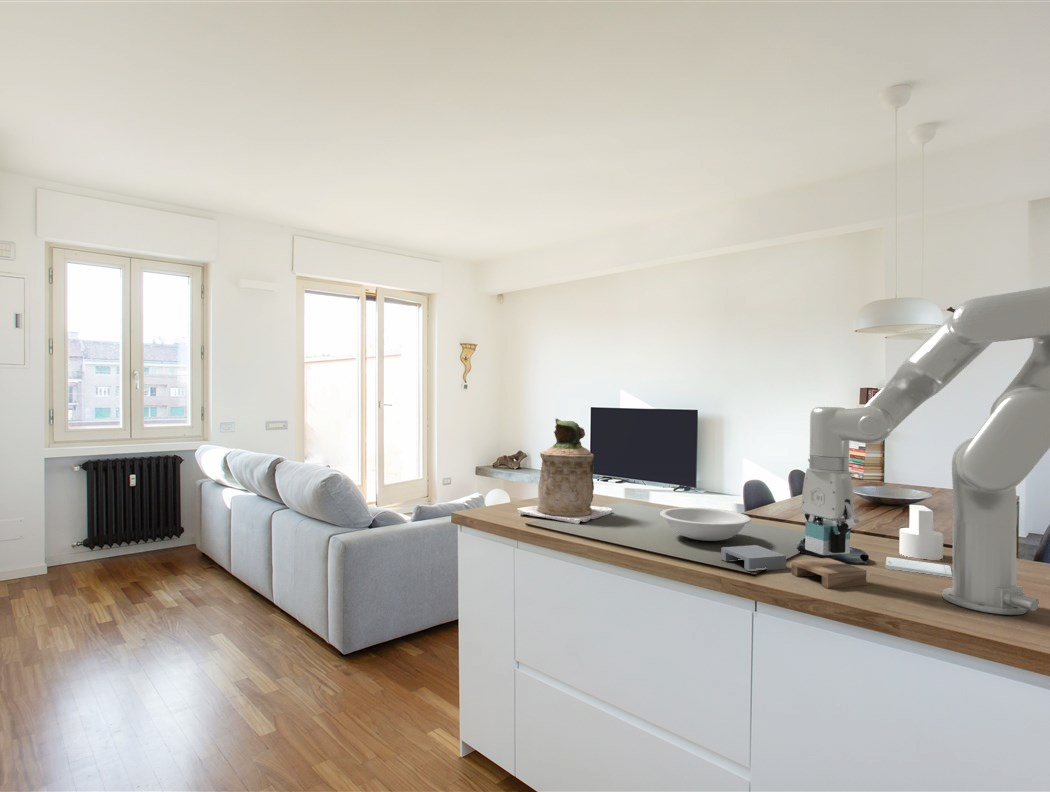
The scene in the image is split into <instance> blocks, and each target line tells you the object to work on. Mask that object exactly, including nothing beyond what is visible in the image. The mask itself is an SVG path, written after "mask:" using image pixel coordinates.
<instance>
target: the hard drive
mask: <svg viewBox="0 0 1050 792" xmlns="http://www.w3.org/2000/svg"><path fill="white" fill-rule="evenodd" d="M885 559H886V560H885V569H887V570H892V569H894V570H893V571H898V570H902V571H901V572H905V571H910V572H909V573H912V572H919V573H926V574H933V575H940V576H947V577H952V578H953V570H952V569H951V566H950V565H948V564H947V565H946V564H941V563H935V562H934V563H932V562H926V561H921V560H919V561H918V560H910V559H906V558H905V559H903V558H899V557H898V558H897V557H891V556H886V558H885ZM919 573H918V574H919ZM926 574H925V575H926ZM933 575H932V576H933ZM940 576H939V577H940ZM947 577H946V578H947Z"/></svg>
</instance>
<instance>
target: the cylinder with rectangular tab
mask: <svg viewBox="0 0 1050 792" xmlns="http://www.w3.org/2000/svg"><path fill="white" fill-rule="evenodd" d="M908 521H909V527H903V528H899V546H898V547H899V550H898V551H899V555H901V554H902V555H901V556H903V555H904V556H903V557H906V556H908V557H907V558H909V557H914V558H922V559H941V558H943V559H944V534H943V533H942V532H940V531H935V530H934V511H933V510H932V509H930V508H929V507H926V506H925V505H923V504H922V505H920V504H909V520H908ZM914 558H913V559H914Z"/></svg>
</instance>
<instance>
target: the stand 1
mask: <svg viewBox="0 0 1050 792" xmlns="http://www.w3.org/2000/svg"><path fill="white" fill-rule="evenodd" d="M720 550H721V551H720V552H721V554H720V557H721V558H720V560H721V559H723V560H725V561H729V560H738V559H743V561H744V567H743V568H747V569H756V568H765V567H766V568H768V569H767V570H766V571H774V570H775V571H776V570H777V571H778V570H786V569H787V555H786V554H783V553H780V552H777V551H774V550H771V549H770V548H769V549H768V548H766V547H763V546H760V545H757V544H752V545H751V544H750V545H737V546H723V547H721V549H720ZM725 561H724V562H725Z"/></svg>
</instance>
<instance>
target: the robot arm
mask: <svg viewBox="0 0 1050 792" xmlns="http://www.w3.org/2000/svg"><path fill="white" fill-rule="evenodd" d="M1023 339H1024V340H1025V339H1032V342H1033V348H1032V351H1031V354H1030V356H1029V357H1028V358H1027V360H1026V361H1025V363H1024V364H1023V366H1022V367H1021V369H1020V370H1019V372H1018V373H1017V375H1016V376H1015V377H1014V378H1013V379H1012V381H1011V382H1009V384H1008V386H1007V387H1006V388H1005V389H1004V391H1003V392H1002V393H1001V394H1000V395H999V396H998V397H997V398H996V400H995V401H994V402H993V403H992V405H991V408H990V415H989V417H988V418H987V419H986V421H985V422H984V423H983V425H982V426H981V427H980V428H979V430H978V431H977V433H976V434H975V435H974V437H972V438H969V439H966V440H964V441H963V442H961V443H960V444H959V445H958V446H957V447H956V448H955V450H954V452H953V455H952V459H951V477H952V478H951V479H952V480H951V481H952V578H951V579H952V581H951V582H952V587H947V588H944V589H943V590H942V597H943V599H944V600H946V601H948V602H950V603H951V604H954V605H957V606H959V607H962V608H965V609H969V610H973V611H978V612H983V613H989V614H996V615H1006V616H1016V615H1023V614H1026V613H1027V612H1028V611H1031V612H1035V611H1037V609H1038V608H1039V603H1040V600H1039V599H1038V598H1037V597H1033V596H1030V595H1025V593H1024V586H1022V585H1019V584H1017V526H1018V507H1017V506H1018V505H1017V504H1018V503H1017V502H1018V501H1017V486H1019V485H1020V484H1021V483H1022V482H1023V481H1024V479H1025V478H1026V477H1027V476H1028V475H1029V474H1030V473H1031V472H1032V471H1033V469H1034V468H1035V466H1037V465H1038V463H1039V462H1040V461H1041V459H1043V457H1044V456H1045V455H1046V453H1047V452H1048V451H1049V449H1050V286H1045V287H1037V288H1032V289H1025V290H1018V291H1013V292H1007V293H1001V294H1000V293H999V294H993V295H989V296H988V295H986V296H981V297H975V298H972V299H968V300H967V301H964V302H963V303H961V304H960V305H959V306H957V308H956V309H955V310H954V311H953V313H952V314H951V315H949V317H948V318H947V319H946V320H945V321H944V322H943V323H942V324H941V325H940V326H939V327H937V329H936V330H935V331H934V332H933V333H932V334H930V336H928V338H926V340H924V342H922V343H921V344H920V345H919V346H918V347H917V348H916V349H915V350H914V351H912V353H911V354H910V355H909V356H908V357H907V358H906V359H905V360H904V361H903V362H902V364H901V365H899V367H898V369H897V370H896V372H895V373H894V375H893V376H892V377H891V378H890V380H888V381H887V382H886V384H885V385H884V386H883V387H882V388H881V389H880V390H879V391H878V392H877V393H876V394H874V396H873V397H872V398H871V399H870V400H869V401H868V402H867V403H865V404H864V405H863V407H857V408H845V407H840V406H839V407H836V406H817V407H816V406H815V407H814V408H812V410H811V411H810V416H809V417H810V419H809V420H810V421H809V423H810V424H809V457H808V459H807V460H808V463H809V464H808V465H809V466H808V467H809V468H806V471H805V475H804V479H803V485H802V493H801V505H800V507H799V510H800V511H801V514H803V515H804V518H805V520H806V522H807V521H816V520H819V521H824V519H826V520H831V521H832V526H833V531H834V534H832V535H831V552H832V553H844V552H845V538H846V534H848V533H849V530H850V531H852V529H853V527H855V526H857V525H858V524H859V522H860V521H859V518H858V516H857V514H856V513H855V511H854V509H855V508H854V507H855V505H854V504H855V503H854V501H855V500H854V499H855V498H854V488H853V481H852V475H851V473H850V471H849V470H850V469H849V468H850V441H852V442H856V443H863V444H867V445H868V444H872V445H873V444H879V443H882V442H883V441H885V440H886V439H887V438H888V437H889V436H890V435H891V433H892V432H893V431H894V430H895V429H896V428H897V427H898V426H899V425H900V424H901V423H903V421H904V420H905V419H907V418H908V416H910V415H911V414H912V413H913V412H914V411H915V410H916V409H918V407H920V406H921V405H922V404H923V403H925V402H926V401H927V400H929V399H931V398H932V397H934V396H935V395H937V394H938V393H939V392H940V391H942V390H943V389H944V388H945V387H947V386H948V385H949V384H950V383H951V382H952V381H953V380H954V379H955V378H956V377H957V376H958V375H959V374H961V372H962V371H963V370H964V369H966V368H967V366H969V365H970V364H971V363H973V361H974V360H975V359H976V358H978V356H980V355H981V354H982V353H983V352H984V351H985V350H986V349H987V348H988V347H989V346H991V344H992V343H997V342H1006V341H1007V342H1008V341H1015V340H1016V341H1017V340H1018V341H1019V340H1023ZM838 522H840V524H841V525H840V526H839V523H838Z"/></svg>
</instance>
